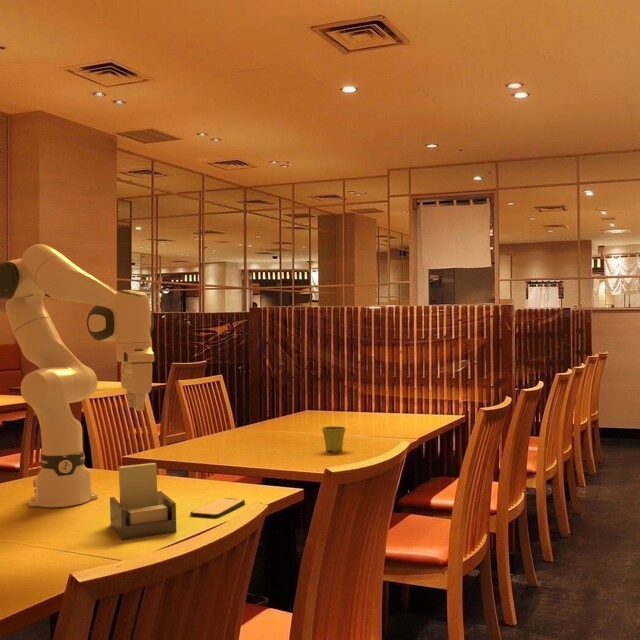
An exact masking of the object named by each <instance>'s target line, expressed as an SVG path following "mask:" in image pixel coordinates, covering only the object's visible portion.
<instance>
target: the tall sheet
mask: <svg viewBox="0 0 640 640" xmlns="http://www.w3.org/2000/svg"><path fill="white" fill-rule="evenodd" d="M157 469H158V468H157V463H156V462H149V463H140V464H130V465H122V466H121V465H120V466H118V476H119V477H118V481H119V483H118V485H119V486H118V487H119V503H120V504H121V505H122V506H123V508H124V509H125V512H126V516H127V510H129V509H136V508H143V507H150V506H157V505H158V499H157V491H158V472H157V471H158V470H157Z"/></svg>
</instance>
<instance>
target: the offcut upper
mask: <svg viewBox="0 0 640 640" xmlns="http://www.w3.org/2000/svg"><path fill="white" fill-rule="evenodd" d="M162 520H168V515H167V507H166V506H164V505H157V506H150V507H143V508H136V509H129V510H127V523H128V524H129V525H134V524H141V523H148V522H155V521H162Z"/></svg>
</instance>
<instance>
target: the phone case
mask: <svg viewBox="0 0 640 640" xmlns="http://www.w3.org/2000/svg"><path fill="white" fill-rule="evenodd" d="M245 503H246V501H245V499H243V498H231V497H230V498H229V497H218V498H216V499H214V500H212V501H210V502H207V503H205V504H204V505H202V506H200V507H198V508H196V509H194V510H192V511H190V514H189V515H190V517H193V518H207V519H219V518H221V517H223V516H225V515H227V514H229V513H231V512H233V511H236V510H237V509H239V508H241V507H243V506H245V505H246V504H245Z"/></svg>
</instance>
